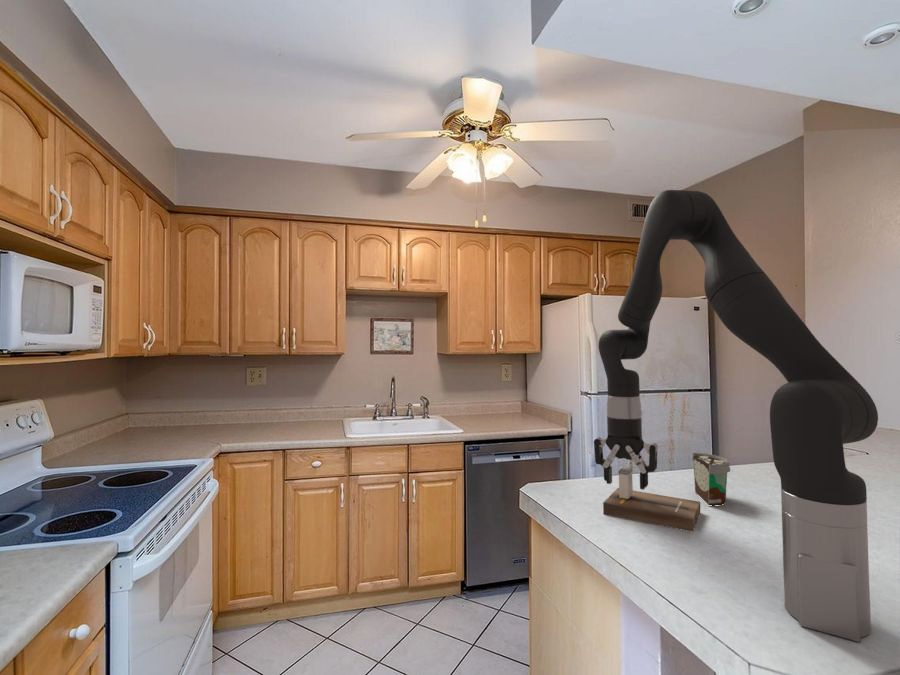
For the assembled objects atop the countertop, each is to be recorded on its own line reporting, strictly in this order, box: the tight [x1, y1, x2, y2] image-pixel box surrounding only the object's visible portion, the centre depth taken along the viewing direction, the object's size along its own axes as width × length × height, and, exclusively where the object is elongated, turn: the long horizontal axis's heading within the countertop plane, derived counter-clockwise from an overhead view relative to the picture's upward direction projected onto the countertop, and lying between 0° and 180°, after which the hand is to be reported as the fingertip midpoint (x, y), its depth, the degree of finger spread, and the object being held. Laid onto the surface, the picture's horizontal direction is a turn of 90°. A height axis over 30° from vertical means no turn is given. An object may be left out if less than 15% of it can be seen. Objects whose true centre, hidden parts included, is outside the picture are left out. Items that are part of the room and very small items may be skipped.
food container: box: [692, 452, 731, 507], centre depth 108 cm, size 12×6×10 cm, turn 168°
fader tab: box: [618, 466, 634, 499], centre depth 104 cm, size 4×2×6 cm, turn 144°
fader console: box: [602, 487, 701, 532], centre depth 100 cm, size 12×18×3 cm, turn 54°
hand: (625, 485), depth 104 cm, fingers open, 7 cm apart
